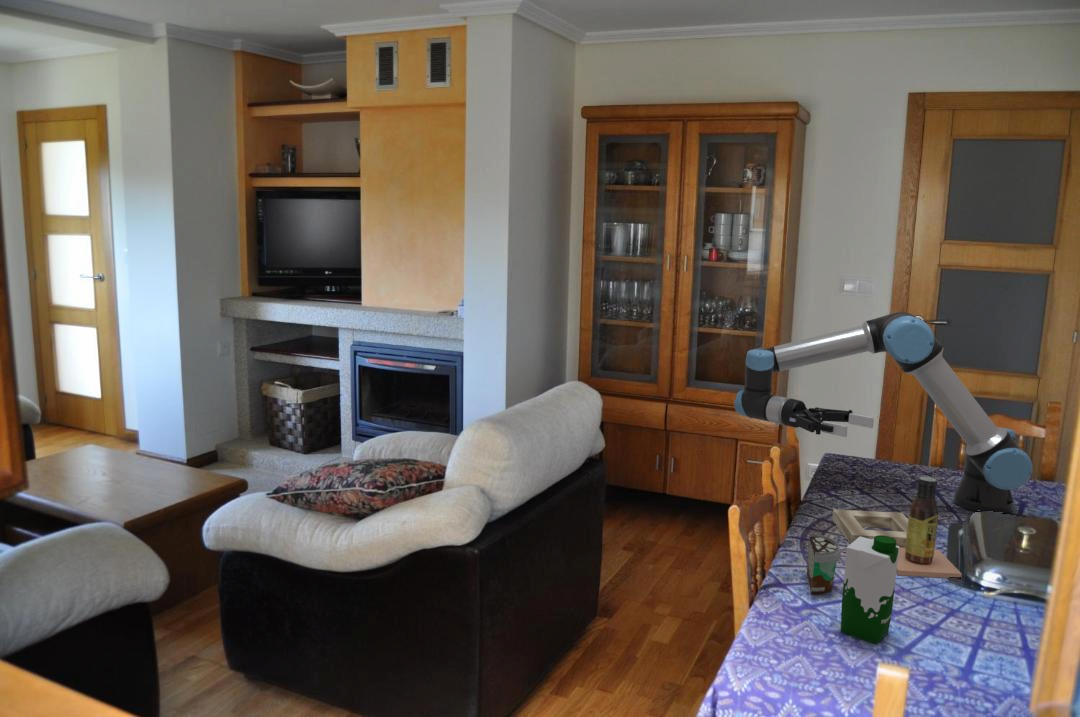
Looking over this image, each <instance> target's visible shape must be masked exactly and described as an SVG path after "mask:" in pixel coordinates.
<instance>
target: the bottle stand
mask: <svg viewBox="0 0 1080 717" xmlns="http://www.w3.org/2000/svg"><path fill="white" fill-rule="evenodd" d="M908 520H909V518H907V517H906V515H905V514H903V512H893V511H875V510H874V511H872V510H850V509H832V518H831V521H832V522H833V523H834V525H835V524H836V525H835V526H836V527H837V529H838V528H839V529H838V530H839V532H840V533H841V532H842V533H841V535H844V536H845V537H844V536H843V537H844V538H845V540H846V539H847V540H848V541H847V540H846V541H847V543H848V544H849V543H850V544H851V543H852V542H854V541H855V540H856V539H857V538H858V537H864V538H868V539H874V537H875V536H879V535H883V536H889V537H892V538H894V539H895V540H896V546H899V547H901V548H905V546H906V537H907V529H908ZM864 528H878V529H890V530H875V529H864ZM850 544H849V545H850Z"/></svg>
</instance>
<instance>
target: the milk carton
mask: <svg viewBox="0 0 1080 717" xmlns="http://www.w3.org/2000/svg"><path fill="white" fill-rule="evenodd" d="M899 550H900V547H899V546H896V540H895V539H894V538H892V537H889V536H883V535H879V536H875V537H874V539H868V538H864V537H858V538H857V539H856V540H855V541H854V542H852V543H851V544H848V545H847V546H846V551H845V552H846V553H845V566H844V576H843V585H842V586H843V587H842V596H841V597H842V598H841V599H842V600H841V607H840V608H841V611H840V614H841V615H840V618H841V619H840V633H842V634H845V635H849V636H851V637H854V638H856V639H860V640H863V641H865V642H869V643H871V644H875V645H878V644H879V642H880V641H882V639H883V638H884V636H886V635H887V633H888V632H889V631H890V630H889V629H890V624H891V620H892V616H893V615H892V614H893V606H894V599H895V598H894V597H895V588H896V580H897V573H896V571H897V563H898V556H899Z"/></svg>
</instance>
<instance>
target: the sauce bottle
mask: <svg viewBox="0 0 1080 717" xmlns="http://www.w3.org/2000/svg"><path fill="white" fill-rule="evenodd" d="M917 479H918V480H917V484H918V485H917V493H916V497H915V498H914V499H913V500H912V501H911V504H910V507H909V508H910V510H909V515H908V529H907V537H906V546H905V551H906V552H905V557H906V558H907V559H908V560H910V561H912V562H916V563H923V564H926V563H931V562H932V559H933V556H934V549H936V547H935V546H936V539H937V530H938V525H939V524H938V522H939V514H940V513H939V509H938V506H937V503H936V487H937V486H938V480H937V479H936V478H934V477H931V476H918V478H917Z"/></svg>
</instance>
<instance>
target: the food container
mask: <svg viewBox="0 0 1080 717" xmlns="http://www.w3.org/2000/svg"><path fill="white" fill-rule="evenodd" d="M807 550H808V552H807V564H806V579H807V583H808V584H809V585H808V584H807V585H808V588H810V589H809V593H810V595H816V594H817V595H825V593H826V594H829V593H830V592H832V590H833V586H834V580H835V575H836V570H837V568H836V567H837V562H838V560H840V559H841V557H842V555H841V548H840V545H839V543H838V542H837V541H836V540H835V539H833V538H831V537H829V536H825V535H823V534H819V533H818V534H817V533H811V532H810V533H809V534H808V549H807ZM828 592H829V593H828Z"/></svg>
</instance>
